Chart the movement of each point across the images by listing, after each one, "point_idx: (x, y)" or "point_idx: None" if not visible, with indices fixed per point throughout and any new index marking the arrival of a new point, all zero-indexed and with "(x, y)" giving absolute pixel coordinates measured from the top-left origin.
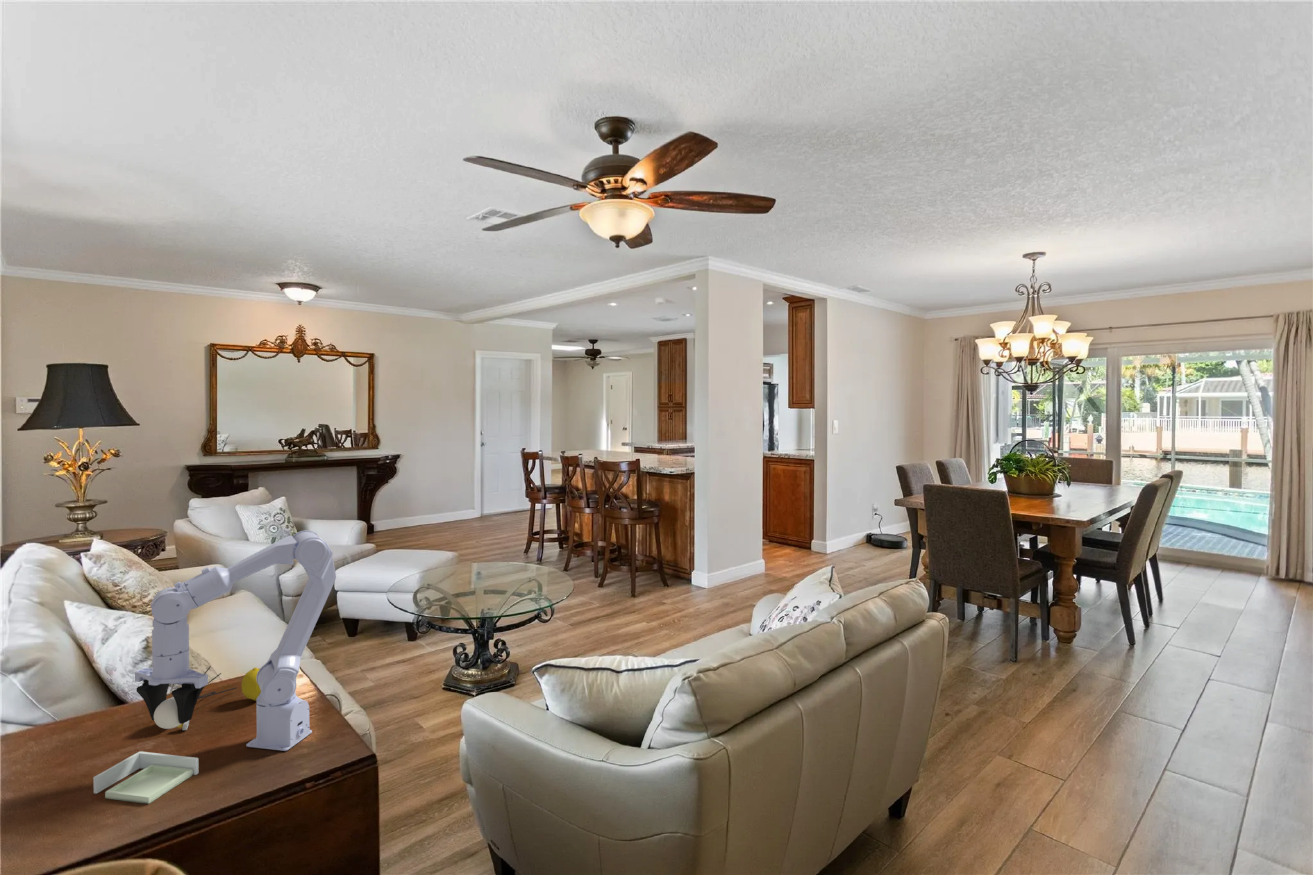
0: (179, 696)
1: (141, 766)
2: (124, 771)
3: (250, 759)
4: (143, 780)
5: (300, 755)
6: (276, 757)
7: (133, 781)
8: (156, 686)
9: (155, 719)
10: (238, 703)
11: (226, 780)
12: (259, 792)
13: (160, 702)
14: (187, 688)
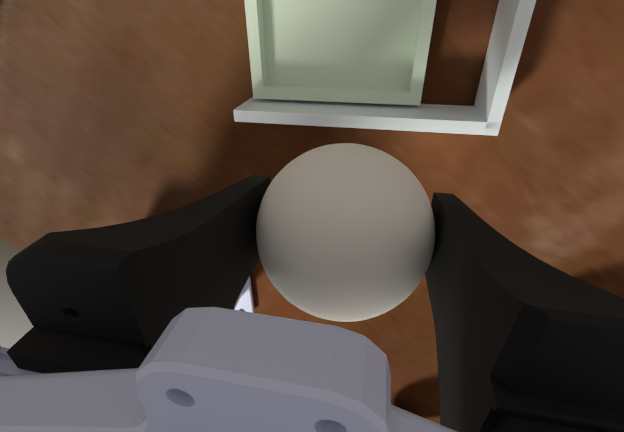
0: (84, 234)
1: (467, 107)
2: (494, 43)
3: (182, 188)
4: (387, 24)
5: (92, 213)
6: (133, 201)
7: (420, 9)
8: (477, 390)
9: (379, 154)
10: (434, 402)
11: (142, 83)
12: (5, 42)
13: (441, 285)
14: (58, 323)
